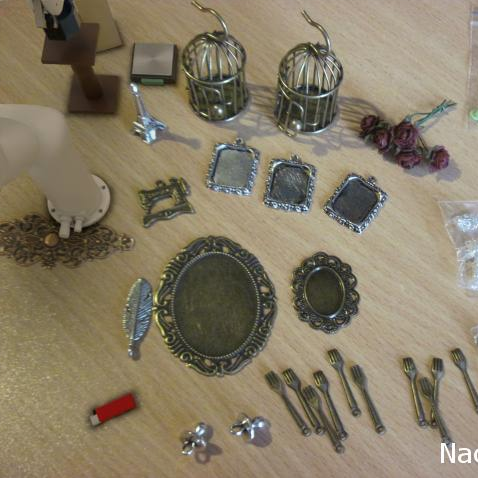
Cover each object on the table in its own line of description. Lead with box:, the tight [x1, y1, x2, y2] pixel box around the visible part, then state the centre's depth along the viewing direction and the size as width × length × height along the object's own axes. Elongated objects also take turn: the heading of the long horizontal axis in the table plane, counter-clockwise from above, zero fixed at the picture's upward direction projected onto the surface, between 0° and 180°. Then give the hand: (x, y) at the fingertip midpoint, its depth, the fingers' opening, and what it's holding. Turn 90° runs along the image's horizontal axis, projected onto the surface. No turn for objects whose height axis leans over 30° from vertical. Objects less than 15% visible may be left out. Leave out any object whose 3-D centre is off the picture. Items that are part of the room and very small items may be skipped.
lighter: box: [89, 392, 137, 427], centre depth 103 cm, size 3×1×8 cm
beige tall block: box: [72, 0, 123, 53], centre depth 124 cm, size 8×7×21 cm
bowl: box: [41, 0, 81, 39], centre depth 104 cm, size 7×7×5 cm
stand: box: [40, 22, 120, 115], centre depth 119 cm, size 10×10×18 cm
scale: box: [129, 42, 178, 86], centre depth 131 cm, size 11×10×3 cm
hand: (60, 22), depth 106 cm, fingers closed on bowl, 7 cm apart
